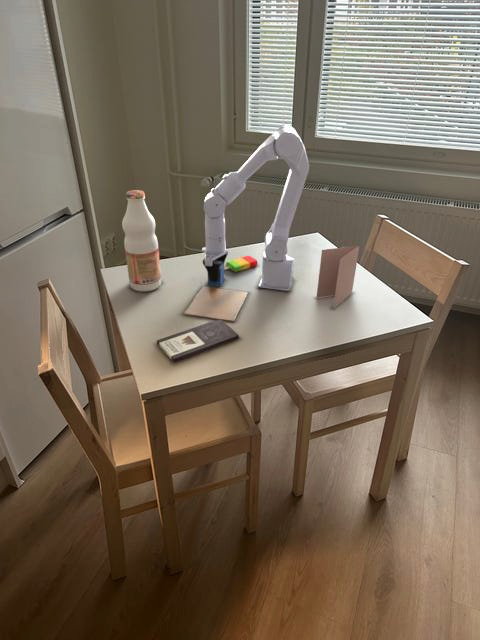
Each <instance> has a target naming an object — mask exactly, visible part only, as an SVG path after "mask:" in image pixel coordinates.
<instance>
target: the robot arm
mask: <svg viewBox="0 0 480 640" xmlns="http://www.w3.org/2000/svg"><path fill="white" fill-rule="evenodd" d="M278 156H279V157H280V158H281V159H282V160H284V161H285V162H286V164H287V166H288V168H289V170H288V175H287V178H286V181H285V184H284V187H283V190H282V194H281V198H280V201H279V203H278V206H277V210H276V213H275V217H274V220H273V222H272V223H271V226H270V229H269V231H267V233H266V234H265V235H264V239H263V241H264V247H265V248H264V252H263V253H262V263H261V264H262V265H261V278H260V280H259V283H258V285H257V287H258V288H259V289H260V288H261V289H269V290H278V291H283V292H289V291H291V289H292V288H291V287H292V285H293V282H294V272H295V258H293V257H290V256H288V241H289V237H290V229H291V226H292V223H293V219H294V218H295V217H294V216H295V214H296V211H297V209H298V208H297V207H298V204H299V201H300V199H301V196H302V192H303V189H304V186H305V184H306V180H307V177H308V174H309V171H310V163H309V159H308V156H307V151H306V147H305V144H304V143H303V140H302V138H301V137H300V135H299V133H298V132H297V131H296V129H295V128H294V127H292V126H290V125H282V126H280V127H278V128H277V129H276V130H275V132H274V133H272V134H271V135H269V137H267V139H265V140H264V141H263V143H262V144H261V145H259V147H258V148H257V149H256V150H255V151H254V152H253V153H252V155H251V156H250V157H249V158H248V160H246V161H245V163H244V164H243V165H242V166H241V167H240V168H239V169H238V171H230V172H229V173H228V174H227V173H225V174H224V175H222V180H221V181H220V183H218V185H216V187H215V188H214V187H213V188H211V190H210V192H209V193H208V194H207V195H205V198H204V201H203V212H204V218H205V219H204V237H205V239H204V240H205V241H204V242H205V246H204V247H202V249H201V252H203V253H204V254H205V257H204V258H203V259H202V265H203V266H204V269H206V272H207V276H208V275H209V278H210V281H212V282H217V281H218V276H219V270H220V266H221V264H222V263H224V264H225V263H226V259H227V257H228V255H229V251H227V248H226V247H227V246H226V219H225V211H226V206H229V205H231V204H232V202H233V201H234V200H235V199H236V198H238V196H240V194H241V193H242V192H244V190H245V189H246V181H248V179H250V178H251V177H252V176H253V175H254V174H255V173H256V172H257V171H258V170H259V169H260V168H261V167H262V166H264V164H265V163H266V162H269V161H277V160H279V157H278Z"/></svg>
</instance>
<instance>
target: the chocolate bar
mask: <svg viewBox="0 0 480 640" xmlns="http://www.w3.org/2000/svg"><path fill="white" fill-rule="evenodd" d="M239 338H240V335H239V334H238V332H236V331H235V330H234V329H233V328H231V327H230V326H229V325H228V324H227V323H226V322H224V320H221V319H214V320H212V321H210V322H206V323H203V324H201V325H198V326H194V327H192V328H189V329H185V330H183V331H180V332H177V333H174V334H171V335H168V336H165V337H163V338H159V339H157V340H156V344H157V345H158V346H159V347H160V349H162V351H163V352H164V353H165V354H166V355H167V356H168V358H169V359H170V360H171V361H172V362H173V363H177V362H179V361H181V360H185V359H188V358H189V357H192V356H195V355H198V354H201V353H203V352H206V351H209V350H211V349H214V348H216V347H219V346H222V345H225V344H227V343H230V342H232V341H235V340H238V339H239Z"/></svg>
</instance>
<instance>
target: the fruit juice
mask: <svg viewBox="0 0 480 640" xmlns="http://www.w3.org/2000/svg"><path fill="white" fill-rule="evenodd" d="M125 195H126V196H125V198H126V200H127V206H126V211H125V214H124V216H123V218H122V221H121V226H122V231H123V232H124V234H125V235H124V238H123V239H124V240H123V245H124V251H125V258H126V266H127V267H126V268H127V274H128V282H129V286H130V287H131V289H133V290H135V291H137V292H151V291H154V290H156V289H158V288H159V287H160V286H161V285H162V273H161V272H162V271H161V263H160V262H161V261H160V251H159V241H158V237H157V235H156V220H155V217H154V216H153V215H152V213H151V212H150V211H149V209H148V206H147V205H146V201H145V199H146V194H145V192H144V190H141V189H134V190H133V189H132V190H128V191H126V193H125Z"/></svg>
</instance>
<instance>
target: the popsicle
mask: <svg viewBox="0 0 480 640" xmlns="http://www.w3.org/2000/svg"><path fill="white" fill-rule="evenodd" d="M225 265H226V266H224V271H226V270H231V271H233V272H235V273H237V272H241V271H244V270H248V269H251V268H254V267H257V266H258V260H257V259H256V258H254V257H253V256H251V255H245V256H242V257H238V258H235V259H230V260H227V261H225Z"/></svg>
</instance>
